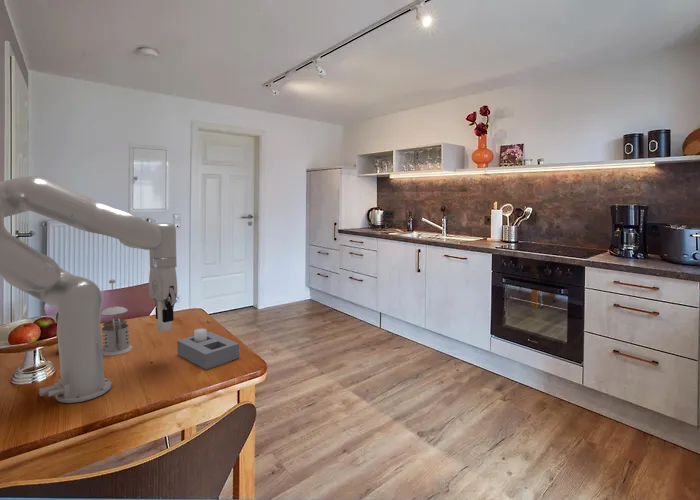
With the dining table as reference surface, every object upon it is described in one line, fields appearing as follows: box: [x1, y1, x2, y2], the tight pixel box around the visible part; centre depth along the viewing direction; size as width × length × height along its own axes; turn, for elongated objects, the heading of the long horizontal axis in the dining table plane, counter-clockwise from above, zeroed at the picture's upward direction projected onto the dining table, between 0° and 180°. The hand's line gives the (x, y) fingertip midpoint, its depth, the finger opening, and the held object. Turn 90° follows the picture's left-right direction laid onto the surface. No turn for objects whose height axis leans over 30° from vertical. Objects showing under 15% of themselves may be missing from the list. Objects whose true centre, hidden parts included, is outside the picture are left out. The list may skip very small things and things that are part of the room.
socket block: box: [176, 328, 240, 371], centre depth 131 cm, size 12×18×8 cm, turn 50°
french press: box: [100, 278, 134, 356], centre depth 134 cm, size 10×12×25 cm
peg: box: [157, 297, 173, 333], centre depth 123 cm, size 4×4×10 cm
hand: (164, 319), depth 124 cm, fingers closed on peg, 4 cm apart
